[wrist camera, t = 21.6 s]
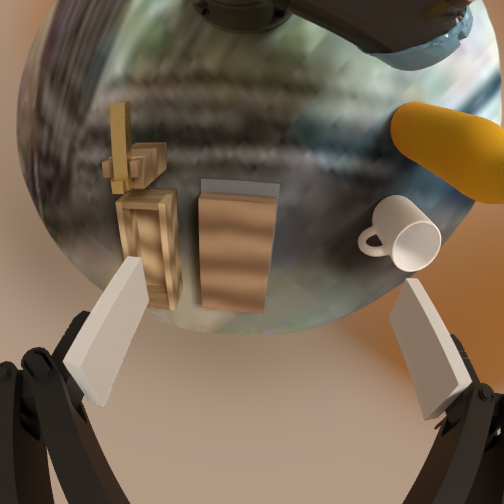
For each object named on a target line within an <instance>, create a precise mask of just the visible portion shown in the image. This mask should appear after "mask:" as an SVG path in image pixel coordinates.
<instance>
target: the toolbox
mask: <svg viewBox="0 0 504 504" xmlns="http://www.w3.org/2000/svg"><path fill="white" fill-rule="evenodd" d="M131 151H132V160H131V161H130V172H131V177H133V182H134V187H133V188H132V189H130V190H129V191H127V192H126V193H125V194H124V195H123V196H122V197H120V198H119V199H118V200H117V201H116V202H115V203H116V210H117V217H118V224H119V231H120V237H121V243H122V248H123V254H124V259H126V258H127V256H131V257H141V258H142V263H143V270H144V275H145V281H146V287H147V292H148V297H149V302H148V305H147V307H154V308H161V309H169V310H176V307H177V304H178V302H179V299H180V296H181V293H182V291H183V284H182V273H181V260H180V247H179V231H178V212H177V189H152V188H146V187H147V186H148V185H149V184H150V183H151V182H153V181H154V180H155V179H156V178H157V177H158V176H159V175H160V174H161V173H163V172H164V171H165V170H166V169H167V152H166V142H159V143H136V144H134V145H132V146H131ZM102 169H103V178H105V177H110V180H111V181H113V180H114V171H113V159H112V156H111V157H109V159H107V160H105V161H103V162H102ZM111 188H112V184H111Z"/></svg>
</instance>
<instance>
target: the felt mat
mask: <svg viewBox="0 0 504 504" xmlns="http://www.w3.org/2000/svg"><path fill="white" fill-rule="evenodd" d="M279 191H280V184H277V183H265V182H253V181H239V180H224V179H205V178H201V194H202V192H216V193H231V194H245V195H258V196H270V197H276V204H277V205H276V214H275V223H274V231H273V240H272V249H271V257H270V265H269V274H268V282H267V290H266V298H265V306H266V299H267V291H268V283H269V276H270V268H271V259H272V251H273V243H274V234H275V226H276V217H277V209H278V200H279Z"/></svg>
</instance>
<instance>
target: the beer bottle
mask: <svg viewBox="0 0 504 504" xmlns="http://www.w3.org/2000/svg"><path fill="white" fill-rule="evenodd" d="M390 131H391V137H392V140H393V142H394V145H395V146H396V147H397V149H398V150H399V151H400V152H401V153H402V154H403V155H404V156H406V157H407V158H409V159H411V160H413V161H415V162H416V163H418V164H420V165H421V166H423V167H425V168H426V169H428V170H429V171H431V172H432V173H434V174H435V175H437V176H438V177H440V178H441V179H443V180H444V181H446V182H447V183H449V184H450V185H452V186H453V187H455V188H456V189H457V190H459V191H460V192H461V193H463V194H464V195H466V196H467V197H469V198H471V199H473V200H475V201H479V202H482V203H487V204H504V129H503V128H502V127H500V126H499V125H497V124H496V123H494V122H492V121H490V120H488V119H485V118H482V117H478V116H474V115H471V114H467V113H463V112H459V111H455V110H451V109H447V108H442V107H438V106H433V105H428V104H425V103H420V102H411V103H407V104H404V105H402V106H401V107H399V108H398V110H397V111H396V112H395V113H394V115H393V118H392V120H391V126H390Z"/></svg>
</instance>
